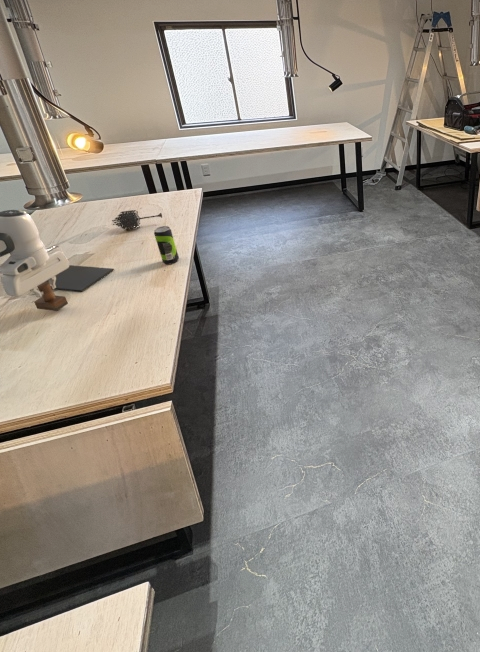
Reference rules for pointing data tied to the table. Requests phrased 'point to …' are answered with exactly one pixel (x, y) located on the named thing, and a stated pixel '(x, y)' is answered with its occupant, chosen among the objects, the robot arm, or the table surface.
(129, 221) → the massage brush
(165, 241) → the beverage can
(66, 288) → the mat
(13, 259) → the robot arm
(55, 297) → the wooden rubber stamp
